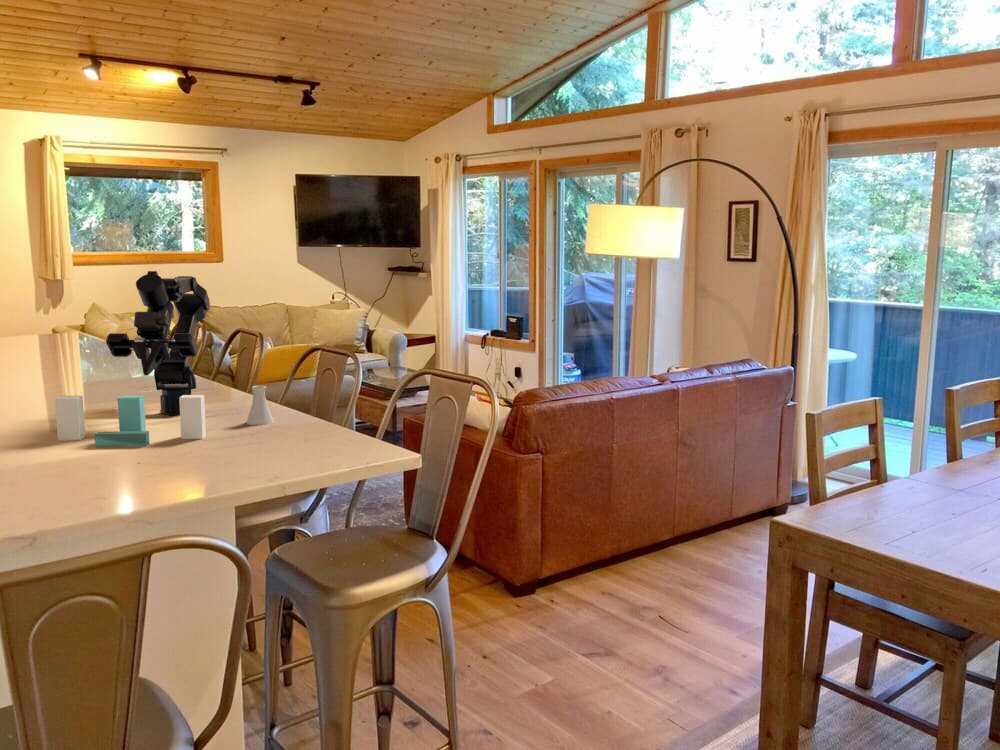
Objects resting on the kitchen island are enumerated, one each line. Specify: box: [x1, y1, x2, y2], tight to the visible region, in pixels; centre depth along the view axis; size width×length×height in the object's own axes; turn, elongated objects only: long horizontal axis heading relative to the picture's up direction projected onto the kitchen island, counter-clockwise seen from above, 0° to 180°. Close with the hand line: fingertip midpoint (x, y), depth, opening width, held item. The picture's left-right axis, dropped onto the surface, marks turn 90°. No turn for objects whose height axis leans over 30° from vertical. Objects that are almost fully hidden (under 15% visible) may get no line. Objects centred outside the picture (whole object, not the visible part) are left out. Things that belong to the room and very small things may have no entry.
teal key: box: [117, 394, 147, 432], centre depth 173 cm, size 3×4×9 cm
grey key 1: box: [54, 395, 86, 442], centre depth 172 cm, size 3×4×9 cm
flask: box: [246, 385, 275, 426], centre depth 191 cm, size 7×7×10 cm
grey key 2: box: [179, 394, 207, 440], centre depth 175 cm, size 3×4×9 cm
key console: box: [94, 430, 150, 448], centre depth 171 cm, size 12×31×4 cm, turn 96°
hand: (145, 374), depth 183 cm, fingers closed
